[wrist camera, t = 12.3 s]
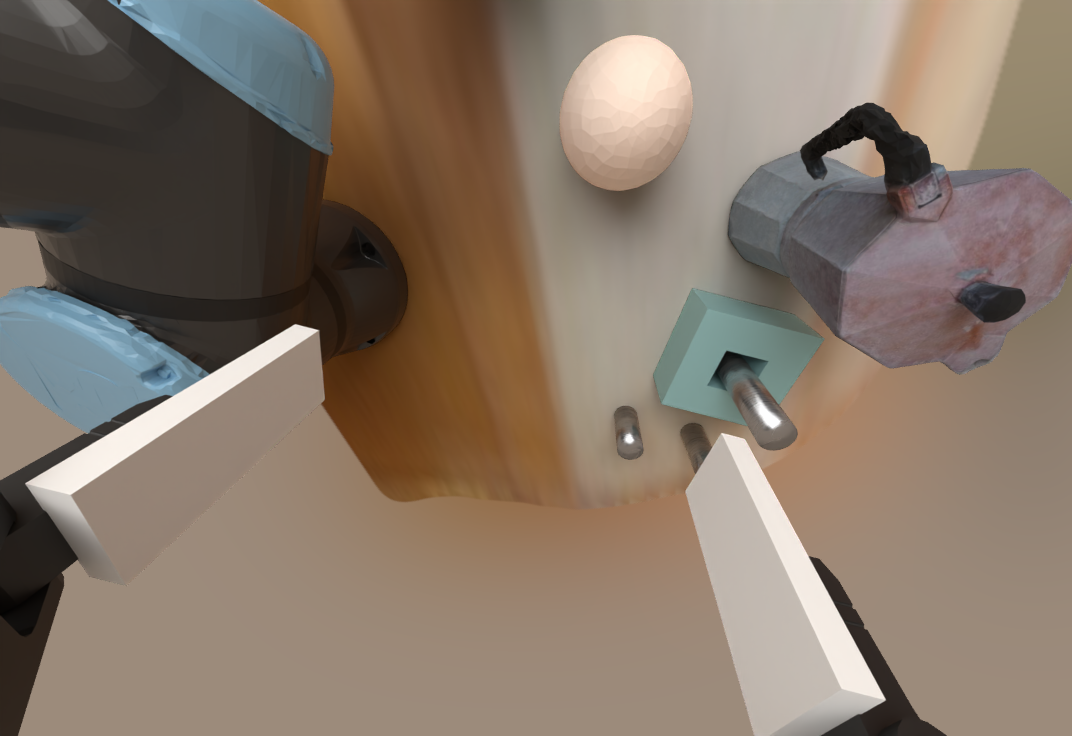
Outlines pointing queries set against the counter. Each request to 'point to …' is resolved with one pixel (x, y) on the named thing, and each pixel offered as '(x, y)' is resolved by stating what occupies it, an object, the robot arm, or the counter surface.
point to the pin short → (628, 433)
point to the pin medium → (695, 444)
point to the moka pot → (907, 244)
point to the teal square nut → (737, 326)
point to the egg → (626, 112)
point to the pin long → (756, 403)
